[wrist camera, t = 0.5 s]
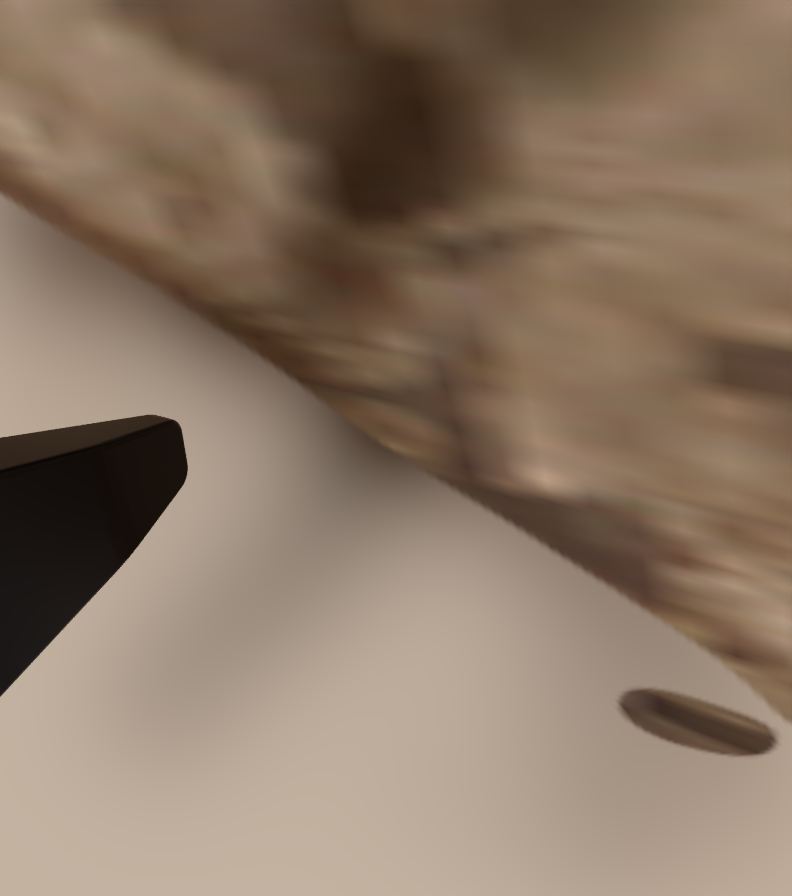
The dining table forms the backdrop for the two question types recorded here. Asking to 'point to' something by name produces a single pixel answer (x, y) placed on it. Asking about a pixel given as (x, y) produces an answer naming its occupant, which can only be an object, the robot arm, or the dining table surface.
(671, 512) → the dining table surface
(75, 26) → the dining table surface
